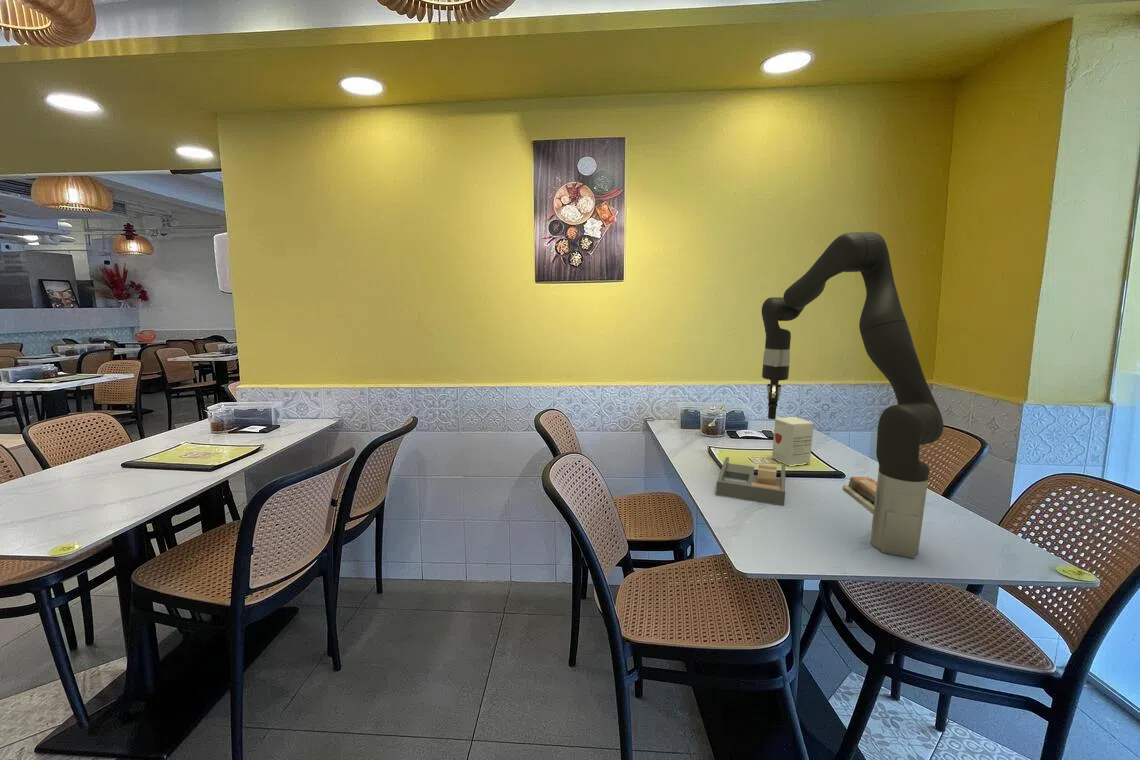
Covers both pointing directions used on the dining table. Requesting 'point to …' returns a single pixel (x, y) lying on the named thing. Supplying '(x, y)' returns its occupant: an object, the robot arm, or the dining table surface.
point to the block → (767, 474)
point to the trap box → (749, 484)
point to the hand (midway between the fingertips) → (771, 418)
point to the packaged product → (862, 491)
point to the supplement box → (792, 440)
